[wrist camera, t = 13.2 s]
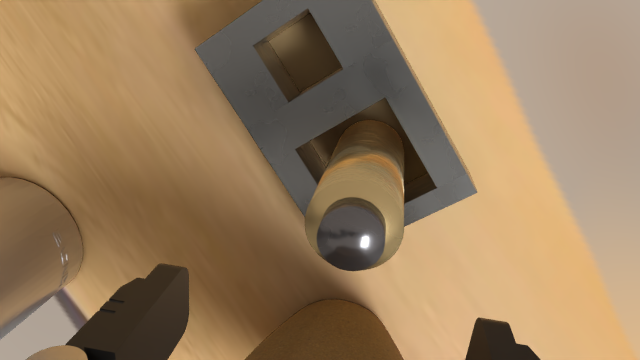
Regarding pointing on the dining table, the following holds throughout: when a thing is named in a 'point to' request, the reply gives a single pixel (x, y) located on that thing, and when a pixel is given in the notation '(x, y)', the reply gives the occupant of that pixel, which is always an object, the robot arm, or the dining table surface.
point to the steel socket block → (331, 96)
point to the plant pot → (329, 335)
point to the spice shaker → (360, 199)
